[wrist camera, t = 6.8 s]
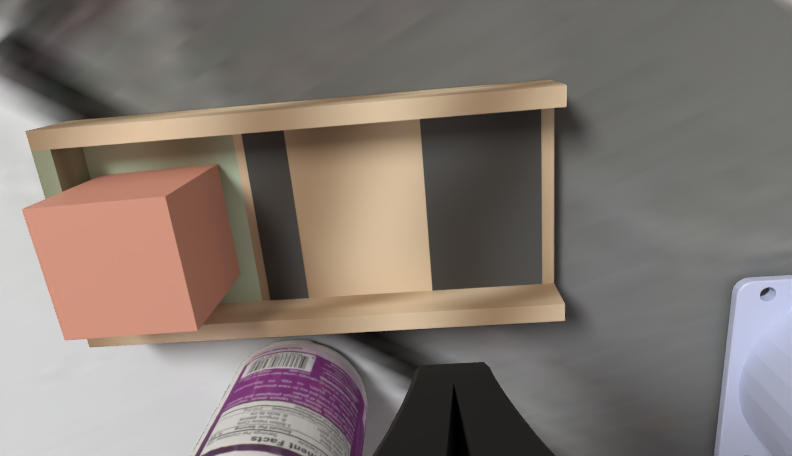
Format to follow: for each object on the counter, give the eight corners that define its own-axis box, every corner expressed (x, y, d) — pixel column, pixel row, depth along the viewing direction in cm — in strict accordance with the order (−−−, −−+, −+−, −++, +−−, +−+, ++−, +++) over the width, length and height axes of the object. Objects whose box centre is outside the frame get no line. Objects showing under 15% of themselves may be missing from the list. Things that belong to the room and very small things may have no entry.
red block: (217, 163, 19) (165, 196, 15) (240, 274, 20) (197, 330, 16) (102, 175, 19) (21, 209, 15) (132, 283, 20) (64, 340, 16)
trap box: (550, 79, 18) (566, 85, 16) (550, 291, 20) (564, 320, 18) (69, 121, 19) (25, 131, 17) (122, 317, 21) (89, 347, 19)
